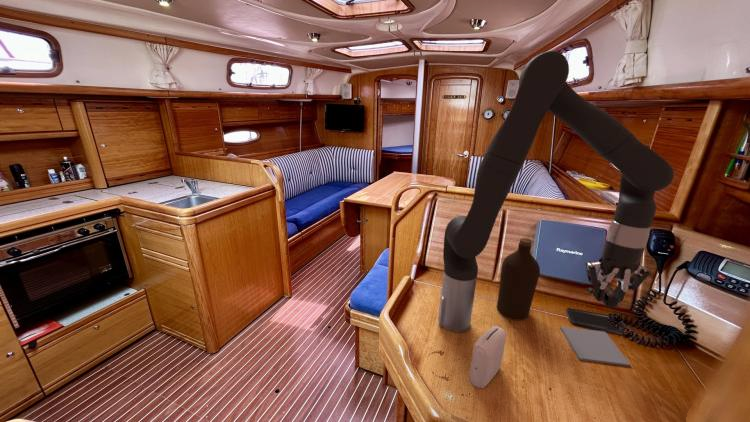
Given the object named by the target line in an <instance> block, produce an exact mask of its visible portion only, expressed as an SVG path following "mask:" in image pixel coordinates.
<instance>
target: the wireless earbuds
mask: <svg viewBox="0 0 750 422" xmlns="http://www.w3.org/2000/svg"><path fill="white" fill-rule="evenodd" d="M585 290H586V291H588V293H589V294H591V295H593V293H594V288H593V287H591V286H589V287H586V288H585ZM620 298H621V297H620V296H619V295H618V294H617V293H616V292H615V289H614V288H613V287H612V286H611V285H610V284H609V283H608V284H607V286H606V287H605V292H604V296H603V299H602V301H601V302H602V303H603V304H604V306H605V307H608V308H618V307H619V304H620V303H619V301H620Z"/></svg>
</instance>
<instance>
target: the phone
mask: <svg viewBox="0 0 750 422" xmlns="http://www.w3.org/2000/svg"><path fill="white" fill-rule="evenodd" d="M565 312H566V315H567V317H568V320H569V322H570V324H571V325H573V326H576V327H577V326H578V327H581V328H587V329H590V330H595V331H603V332H606V333H611V334H617V335H620V336H621V335H622V336H624V335H623V333H622V332H620V331H619V330H617V328H615V327H614V326H612V325H611V324H609V322H608V320H607V318H608V317H609V316H610V315H608V314H603V313H598V312H593V311H587V310H583V309H577V308H571V307H567V308H566V309H565ZM618 324H619V325H620V326H622V327H624V328H626V329H627V330H629V328H628V327H627V326H626V324H625V322H624V321H623V320H622V321H620V322H618Z"/></svg>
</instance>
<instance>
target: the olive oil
mask: <svg viewBox="0 0 750 422" xmlns="http://www.w3.org/2000/svg"><path fill="white" fill-rule="evenodd" d="M532 243H533V241H532V240H531V239H530V238H527V237H526V238H525V237H524V238H523V237H522V238H520V239H519V242H518V245H517V247H518V248H517V250H515V251H514V252H512V253H510V254H508V255H507V256H506V257H505V258H504V259H503V261H502V264H501V268H500V278H499V286H498V287H499V288H498V295H497V296H498V297H497V302H496V309H497V311H498V313H500V314H501V315H503V317H505V318H507V319H511V320H514V321H515V320H516V321H523V320H526V319H527V318H528V317H529V314H530V311H531V306H532V303H533V299H534V296H535V292H536V288H537V285H538V282H539V279H540V274H541V268H540V264H539V263H538V261H537V259H536V258H535V257H534V256H533V255H532V253H531V249H532Z"/></svg>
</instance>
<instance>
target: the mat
mask: <svg viewBox="0 0 750 422" xmlns="http://www.w3.org/2000/svg"><path fill="white" fill-rule="evenodd" d="M560 330H561V332H562V334H563V336H564V337H565V339H566V340H567V342H568V344H569V346H570V347H571V349H572V351H573V353H574V354H575V356H576V357H577V358H578V359H577V360H578V361H585V362H586V361H587V362H591V363H592V362H593V363H602V364H609V365H614V366H615V365H617V366H625V367H631V363H630V362H629V360H628V359H627V357H625V355H624V354H623V353H622V351H621V350H620V349H619V347H618V346H617V345H616V344H615V342H614V341H613V340H612V339H611V337H610V336H609V335H608V332H606V331H601V330H596V329H585V328H576V327H570V326H569V327H568V326H560Z"/></svg>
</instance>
